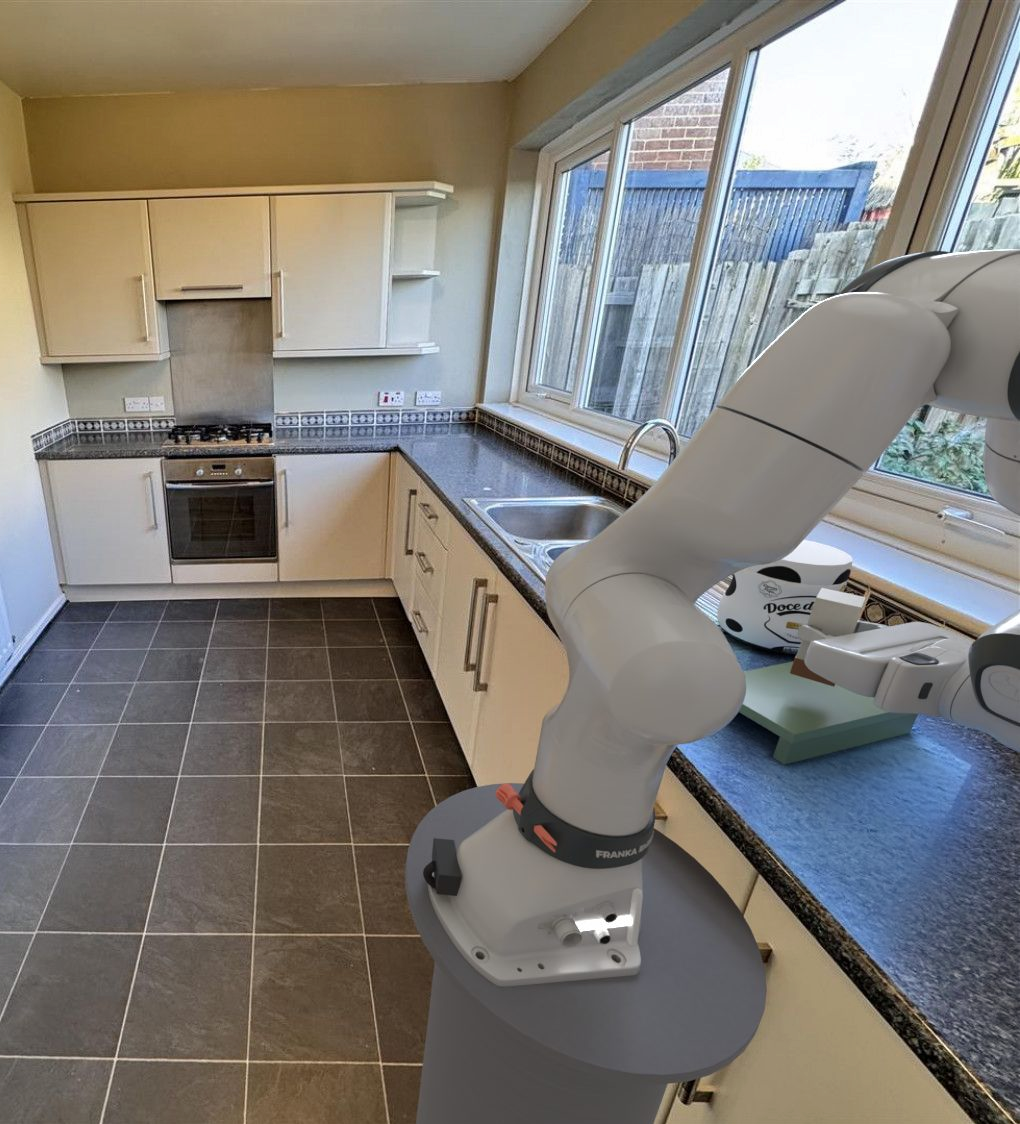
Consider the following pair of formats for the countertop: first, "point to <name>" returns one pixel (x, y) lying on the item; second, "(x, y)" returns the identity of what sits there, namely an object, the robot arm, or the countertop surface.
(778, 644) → the doce de leite container
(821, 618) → the grey-brown block
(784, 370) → the robot arm
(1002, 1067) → the countertop surface
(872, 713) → the shoe shelf
